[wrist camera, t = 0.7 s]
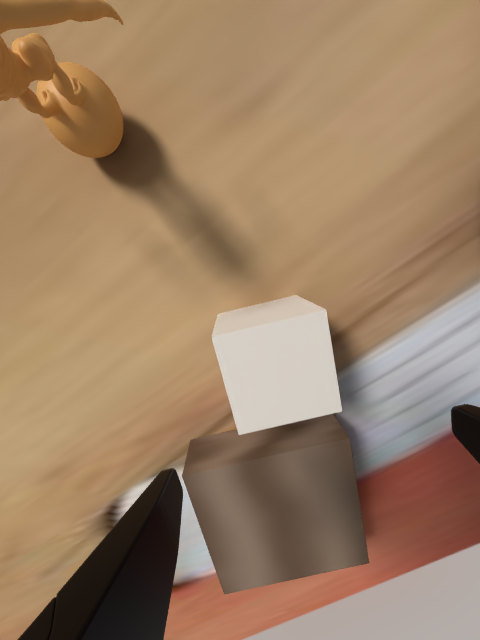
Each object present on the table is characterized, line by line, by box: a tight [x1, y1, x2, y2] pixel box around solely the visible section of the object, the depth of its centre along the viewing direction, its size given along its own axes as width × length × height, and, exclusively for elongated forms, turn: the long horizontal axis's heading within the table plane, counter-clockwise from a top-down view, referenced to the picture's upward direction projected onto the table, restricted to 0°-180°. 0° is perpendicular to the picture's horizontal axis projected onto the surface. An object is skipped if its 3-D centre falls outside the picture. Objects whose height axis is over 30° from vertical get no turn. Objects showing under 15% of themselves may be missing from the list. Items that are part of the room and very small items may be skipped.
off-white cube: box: [212, 295, 342, 435], centre depth 16 cm, size 6×6×6 cm
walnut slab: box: [182, 414, 369, 594], centre depth 20 cm, size 12×12×4 cm
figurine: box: [0, 0, 123, 158], centre depth 10 cm, size 8×6×12 cm
